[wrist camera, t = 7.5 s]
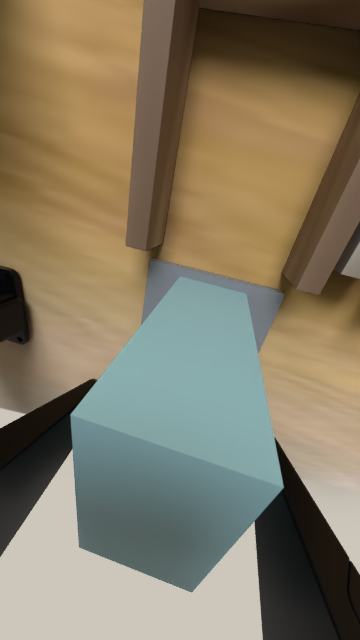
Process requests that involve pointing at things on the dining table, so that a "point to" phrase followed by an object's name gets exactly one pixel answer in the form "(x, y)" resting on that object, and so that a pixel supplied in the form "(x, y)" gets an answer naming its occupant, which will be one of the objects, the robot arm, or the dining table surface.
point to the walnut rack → (166, 118)
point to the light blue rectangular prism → (177, 439)
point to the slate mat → (259, 297)
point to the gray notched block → (350, 257)
